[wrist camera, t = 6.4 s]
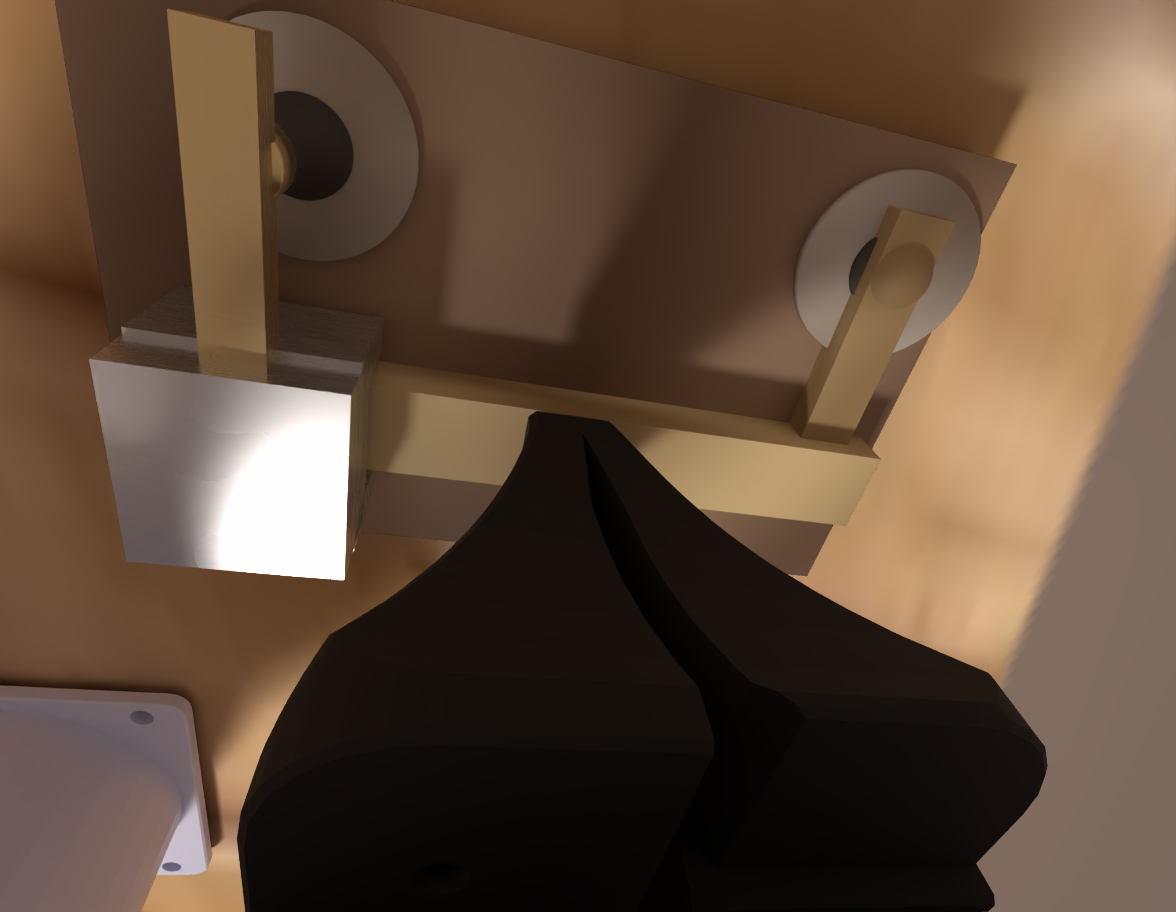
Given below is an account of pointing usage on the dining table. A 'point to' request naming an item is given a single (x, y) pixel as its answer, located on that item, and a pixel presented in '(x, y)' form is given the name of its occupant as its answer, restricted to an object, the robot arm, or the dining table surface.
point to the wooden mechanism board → (559, 252)
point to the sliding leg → (236, 353)
